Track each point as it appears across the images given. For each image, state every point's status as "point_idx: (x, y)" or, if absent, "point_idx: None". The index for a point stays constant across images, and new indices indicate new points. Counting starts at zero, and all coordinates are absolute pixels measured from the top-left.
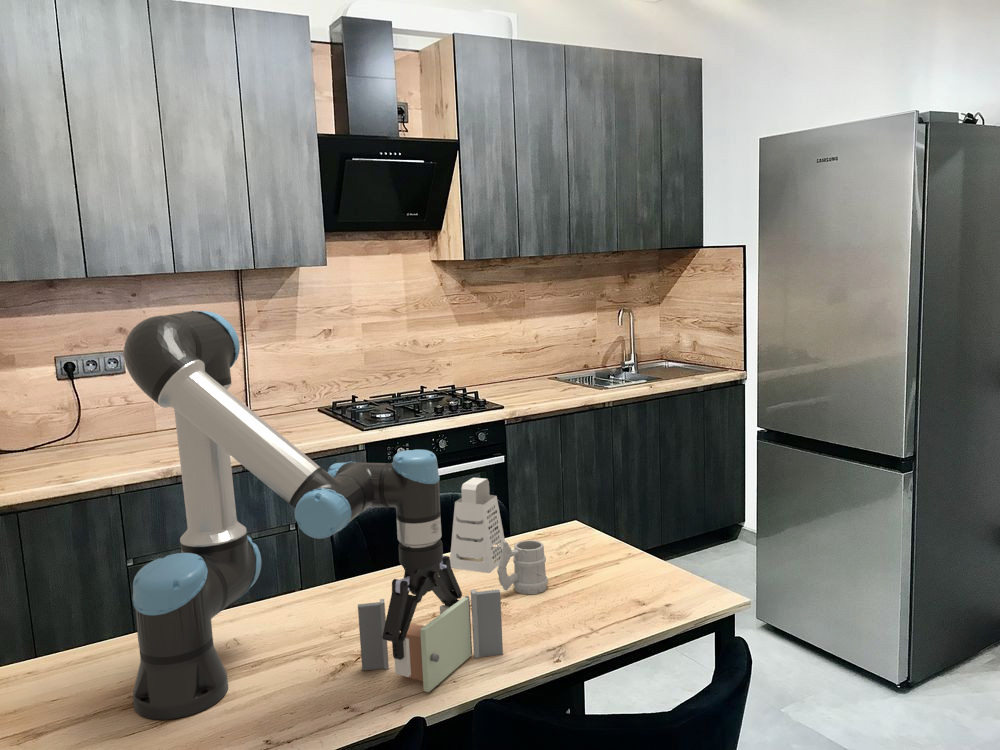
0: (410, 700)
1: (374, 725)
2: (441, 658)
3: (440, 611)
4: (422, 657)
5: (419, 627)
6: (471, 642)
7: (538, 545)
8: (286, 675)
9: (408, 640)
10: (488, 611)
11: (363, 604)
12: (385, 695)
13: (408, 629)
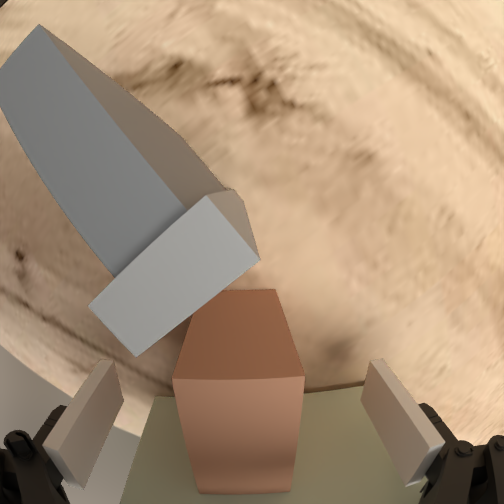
0: (118, 377)
1: (23, 351)
2: None
3: (418, 433)
4: (132, 466)
5: (276, 423)
6: None
7: None
8: (75, 7)
9: (83, 484)
10: None
11: (43, 70)
12: None
13: (230, 396)
